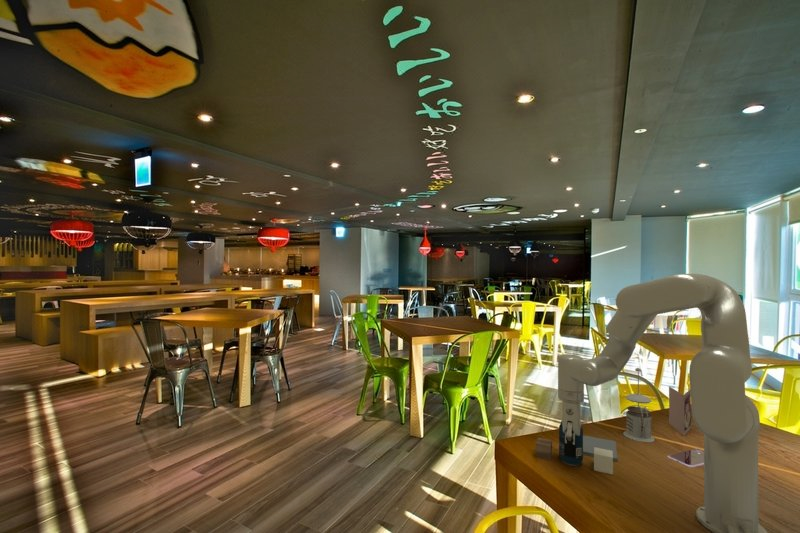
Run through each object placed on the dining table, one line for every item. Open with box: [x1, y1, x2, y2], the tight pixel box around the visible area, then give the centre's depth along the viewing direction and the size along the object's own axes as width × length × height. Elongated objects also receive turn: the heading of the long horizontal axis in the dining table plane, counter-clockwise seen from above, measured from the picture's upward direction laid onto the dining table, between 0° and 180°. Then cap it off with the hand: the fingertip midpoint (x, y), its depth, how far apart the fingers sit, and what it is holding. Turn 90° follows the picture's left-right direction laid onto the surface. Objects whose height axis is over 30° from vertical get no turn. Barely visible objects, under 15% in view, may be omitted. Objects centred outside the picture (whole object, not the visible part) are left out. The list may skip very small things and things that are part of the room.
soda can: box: [558, 420, 584, 467], centre depth 118 cm, size 7×7×12 cm
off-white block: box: [593, 447, 614, 475], centre depth 114 cm, size 5×5×5 cm
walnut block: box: [535, 437, 553, 461], centre depth 122 cm, size 4×4×4 cm
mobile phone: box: [667, 448, 704, 468], centre depth 121 cm, size 8×1×15 cm
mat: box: [583, 434, 618, 462], centre depth 128 cm, size 14×14×1 cm
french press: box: [623, 367, 656, 443], centre depth 137 cm, size 10×12×25 cm
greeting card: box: [668, 386, 692, 436], centre depth 144 cm, size 11×7×15 cm, turn 132°
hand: (570, 450), depth 118 cm, fingers closed on soda can, 6 cm apart
